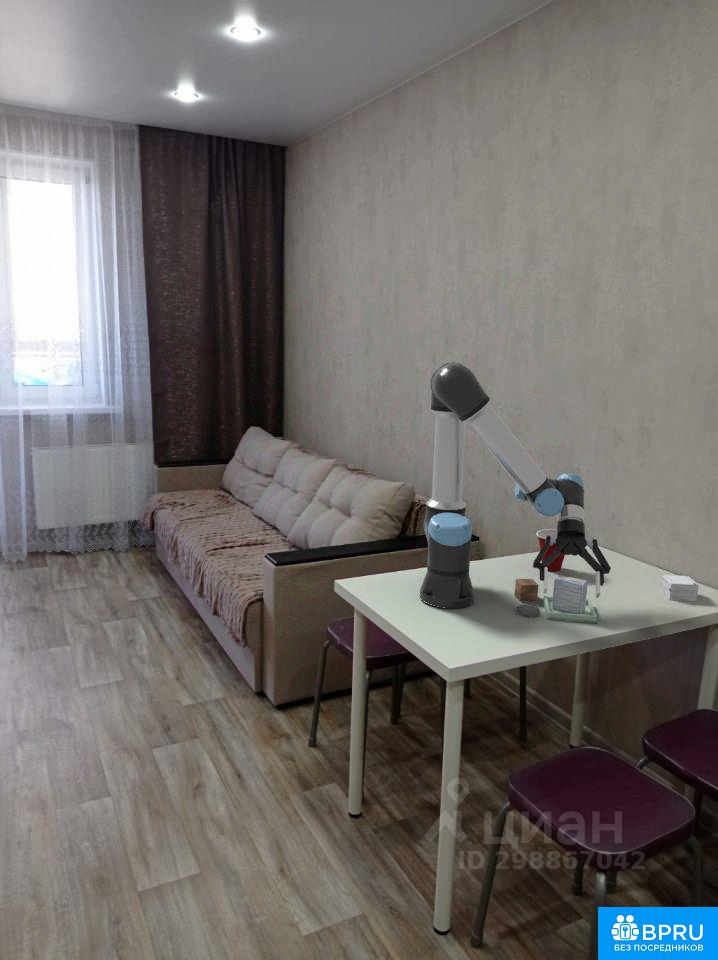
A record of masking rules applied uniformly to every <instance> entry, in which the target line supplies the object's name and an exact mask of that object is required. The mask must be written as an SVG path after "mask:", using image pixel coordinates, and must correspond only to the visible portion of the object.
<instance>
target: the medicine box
mask: <svg viewBox="0 0 718 960" xmlns="http://www.w3.org/2000/svg"><path fill="white" fill-rule="evenodd" d="M588 583H589V581H588V580H586V579H581V578H578V577H577V578H576V577H572V576H568V575H567V576H566V575H562V574H559V575H558V576H556V577H555V579H553V592H552V596H553V603H552V609H556V610H560V611H565V612H569V613H574V614H582V613H583V612H584V611H585V608H586V599H587V593H588Z"/></svg>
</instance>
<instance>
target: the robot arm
mask: <svg viewBox="0 0 718 960" xmlns="http://www.w3.org/2000/svg"><path fill="white" fill-rule="evenodd" d="M430 390H431V396H430V397H431V401H430V411H431V412H432V414H434V416H435V427H434V430H435V431H434V450H433V465H432V466H433V468H432V489H431V490H432V491H431V498H430V499H429V500H428V501H426V505H425V506H426V507H425V517H424V521H423V530H424V535H425V537H426V540H427V562H426V563H427V567H426V573H425V575H424V578H423V581H422V584H421V586H420V588H419V599H420V598H421V599H422V600H423V601H425V602H427V603H429V604H432V605H435V606H439V607H445V608H444V609H447V608H456V609H463V608H467V607H469V606H472V605H473V604H474V602H475V590H474V587H473V583H472V580H471V577H470V567H471V565H470V564H471V550H472V549H471V545H472V537H473V536H472V535H473V525H472V522H471V520H470V519H469V518H468V517H467V504H466V503H465V501H463V499H462V498H463V497H462V495H463V494H462V493H463V492H462V491H463V477H464V464H465V463H464V459H465V457H464V456H465V443H466V440H465V439H466V427H467V426H466V425H467V424H468V425H469V427H470V428H471V430H472V431H473V432H474V433H475V434H476V435H477V437H478V438H479V439H480V441H481V442H482V443H483V444H484V445H485V448H487V449H488V451H489V452H490V454H492V456H494V458H495V459H496V460H497V461H498V463H499V464H500V465H501V467H502V468H503V469H504V470H505V472H506V473H507V474H508V475H509V477H510V478H511V479H512V480H513V481H514V483H515V488H514V494H515V499H517V500H522V501H523V502H526V501H527V502H530V503H531V504H532V506H533V507H534V508H535V510H536V511H537V512H538V513H539V514H541V515H543V516H545V517H554V516H556V523H557V525H556V529H557V538H556V539H555V538H551V537H550V536H547V537H546V541H545V544H544V546H543V547H542V549H541V551H540V550H539V552H538V554H537V555H536V557H535V558H534V560H533V563H532V568H534V569H538V571H539V581H542V582H543V594H547V592H548V577H549V576H548V572H549V571H548V567H547V566H549V565H550V564H551V563H552V562H553V561H554V560H555V559H556V558H557V557H558V556H560V555H561V554H562V553H563V554H565V556H573V557H574V556H576V557H577V556H579V557H581V559H583V560H584V561H585V562H586V564H588V565H589V566H590V567H591V569H592V570H594V572H596V573H595V575H594V577H595V578H594V579H595V580H594V582H595V585H594V586H595V599H599V598H600V596H601V586H602V587H603V585H604V583H605V575H608V574H609V573H610V572H611V570H612V569H611V568H612V567H611V566H610V563H609V562H608V561H607V559H606V558H605V555H604V554H603V552H602V549H600V547H599V544H598V540H597V539H596V538H593V539H592V540H586V527H585V526H586V525H585V522H586V521H585V486H584V485H585V484H584V480H583V479H582V477H581V476H580V475H578V474H576V473H568V474H567V473H563V474H561V475H559V476H558V478H557V479H555V478H548V477H547V475H546V474H545V473H544V471H543V470H542V469H541V468H540V467H539V465H538V464H537V462H536V461H535V460H534V459H533V457H532V456H531V454H529V452H528V451H527V449H525V447H524V446H523V445H522V444H521V442H520V441H519V440H518V438H517V437H516V436H515V435H514V434H513V432H512V430H510V428H509V427H508V426H507V425H506V423H505V422H504V420H502V418H501V417H500V416H499V414H498V413H497V412H496V410H495V409H494V408H493V406H492V405H491V401H492V400H491V398H490V396H489V395H488V394H487V392H486V391H485V389H484V388H483V387H482V385H481V384H480V382H479V380H478V378H477V377H476V375H475V373H474V372H473V371H472V370H471V369H470V368H469V367H467V366H465V365H464V364H462V363H460V362H454V361H451V362H446V363H443V364H442V365H440V366H438V367H437V368H436V369H435V370H434V371H433V374H432V375H431V378H430ZM553 543H555V544H556V545H557V548H556V550H555V551H554V552H553V553H552V554H551V555H549V556H548V557H547V558H546V559H545V560H544V561H543V562H541V560H542V558H543V557H544V555H545V553H546V552H547V550H548V548H549V546H552V545H553ZM586 547H588V548H589V550H592V553H593V555H594V556H595V558H596V559H595V558H594V557H593V556H592V555H591V554H590V553H589V552H588V550H587V548H586ZM421 599H420V600H421ZM439 607H438V608H439Z"/></svg>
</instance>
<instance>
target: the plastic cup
mask: <svg viewBox="0 0 718 960" xmlns="http://www.w3.org/2000/svg"><path fill="white" fill-rule="evenodd" d="M535 535H536V536H537V540H538V543H539V552H540V551H541V549H542V547H543V546H544V544H545V541H546V537H547V536H550V537H551V538H555V539H556V538H557V528H548V529H547V528H546V529H540V530H538V531H536V534H535ZM556 548H557V545H556V544H555V543H553V545H552V546H549V548H548V550H547V552H546V553H545V555H544V557H543V558H542V560H541V562H540V563H542V562H543V561H544V560H545V559H546V558H547V557H548V556H549V555H551V554H552V553H553V552H554V551H555V550H556ZM565 557H566V555H565V554H563V553H562V554H561V555H560V556H558V557H557V558H556V559H555V560H554V561H553V562H552V563H551V564H550V565H549V566H547V567H548V572H555V573H556V572H560V571H561V569H562V566H563V563H564V560H565Z"/></svg>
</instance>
